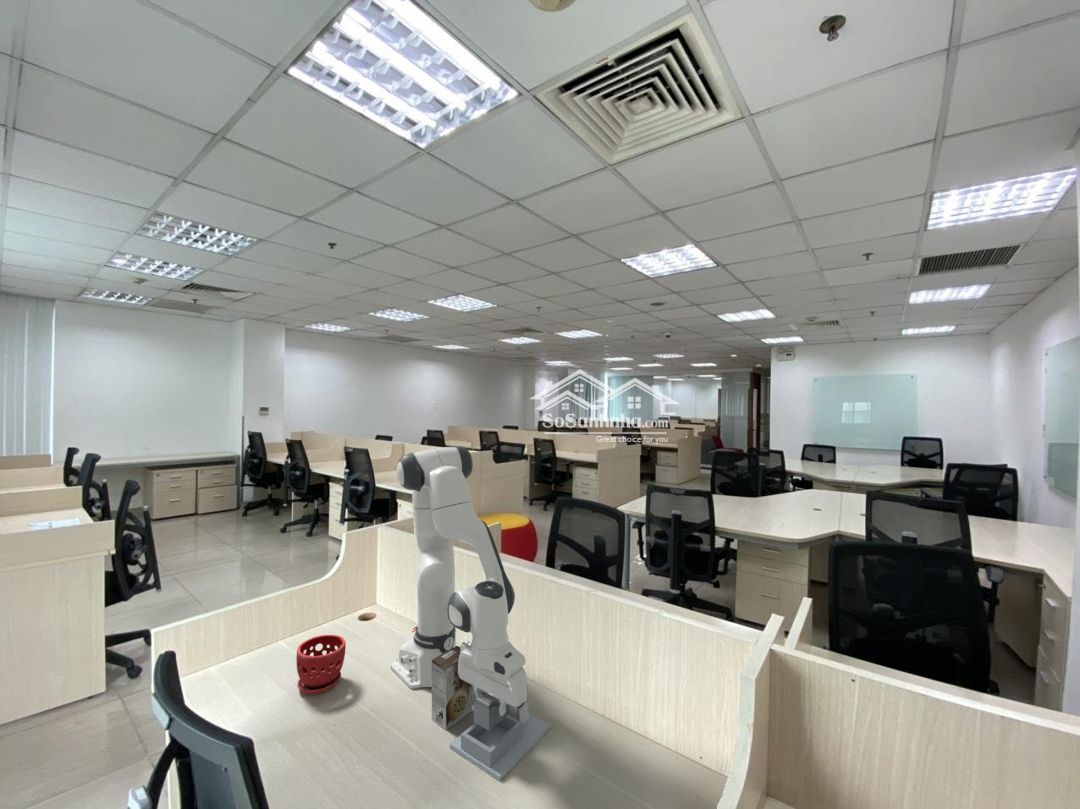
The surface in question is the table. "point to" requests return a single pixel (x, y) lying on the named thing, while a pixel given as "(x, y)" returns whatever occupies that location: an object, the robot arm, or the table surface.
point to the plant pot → (320, 664)
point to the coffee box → (449, 690)
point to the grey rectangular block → (487, 711)
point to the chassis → (501, 741)
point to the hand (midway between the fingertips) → (491, 708)
